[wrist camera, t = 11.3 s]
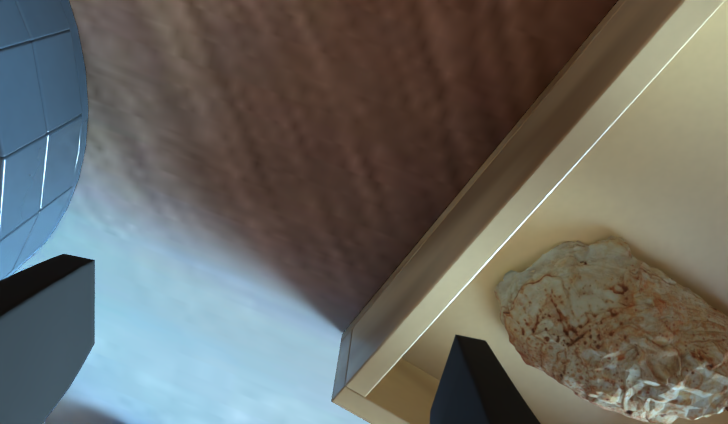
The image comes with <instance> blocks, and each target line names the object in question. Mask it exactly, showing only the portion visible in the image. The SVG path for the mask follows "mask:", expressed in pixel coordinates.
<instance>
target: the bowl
mask: <svg viewBox="0 0 728 424" xmlns="http://www.w3.org/2000/svg"><path fill="white" fill-rule="evenodd" d="M87 123H88V96H87V81H86V69H85V64H84V59H83V53H82V48H81V43H80V38H79V33H78V28H77V24H76V21H75V18H74V15H73V12H72V9H71V6H70V2H69V0H0V280H2V279H5V278H7V277H9V276H11V275H13V274H14V273H15V272H16V271H17V270H18V269H19V268H20V267H21V266H22V265H23V264H24V263H25V262H26V261H27V260H28V259H30V258H31V257H32V256H33V255H34V254H35V253H36V252H37V251H38V249H40V248H41V247H42V246H43V245H44V244H45V242H46V241H47V239H48V238H49V237H50V236H51V234H52V233H53V231H54V230H55V228H56V226H57V225H58V223H59V221H60V220H61V218H62V217H63V215H64V213H65V212H66V210H67V208H68V205H69V203H70V200H71V198H72V195H73V193H74V190H75V188H76V185H77V183H78V180H79V176H80V171H81V167H82V162H83V158H84V153H85V148H86V138H87Z"/></svg>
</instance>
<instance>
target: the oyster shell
mask: <svg viewBox="0 0 728 424" xmlns="http://www.w3.org/2000/svg"><path fill="white" fill-rule="evenodd" d="M533 270H535V271H534V272H531V271H533ZM503 280H504V281H501V282H499V284H498V285H497V286H496V288H495V291H494V292H495V295H496V298H497V300H498V301H499V304H500V320H501V322H502V324H503V325H504V326H505V329H506V330H507V332H508V335H509V342H510V343H511V344H512V345H513V346H514V347H515V349H516V351H517V352H518V353H519V354H520V356H521V358H522V360H523V361H524V362H525V364H526V365H529V366H532V367H534V368H537V369H539V370H541V371H543V372H545V373H546V374H547V375H548V376H550V377H552V378H554V379H555V380H556V381H557V382H558V383H560V384H562V385H564V386H566V387H568V388H569V389H571V390H572V391H573V392H574V394H575V395H577V396H578V397H580V398H581V399H584V400H588V401H589V402H590V403H592V404H595V405H597V406H599V407H600V408H602V409H605V410H609V411H614V412H618V413H620V414H623V415H625V416H626V417H630V418H633V419H637V420H640V421H643V422H650V423H657V422H663V423H665V424H671V423H672V422H674V421H675V420H676V419H678V418H680V417H681V418H684V419H688V420H696V419H698V418H700V417H702V416H705V417H708V416H710V415H712V414H714V413H718V414H719V413H721V412H725V411H728V317H727V316H726V315H725V314H724V313H722V312H721V311H719V310H718V309H715V308H713V307H711V306H710V305H709V304H708V303H707V302H706V301H704V300H703V299H702V298H701V297H700V296H699V295H697V294H695V293H693V292H692V291H691V290H690V289H689V288H684V287H683V286H681V285H679V284H677V283H676V282H675V281H674V280H673V279H672V278H671V277H670V276H667V275H665V273H664V272H663V271H662V270H660V269H657V268H654V267H649V266H648V265H647V264H646V263H645V262H643V261H641V260H638V259H637V258H636V257H634V256H633V255H632V254H631V252H630V248H629V246H628V244H627V243H626V242H625V240H624V239H623V238H621V237H615V236H610V237H608V239H607V240H601V241H597V242H595V243H593V244H592V245H585V244H583V243H582V242H581V241H576V242H572V241H567V242H563V243H562V244H560V245H557V246H556V247H554V248H553V249H552V250H550V251H549V252H547V253H546V254H542V256H541V257H540V258H539V259H538V260H537V261H536V262H535V263H533V264H532V266H531V267H528V268H527V269H526V270H525V271H523V272H520V273H518V272H516V271H513V270H510V271H509V272H507V273H506V274H505V276H504V277H503Z"/></svg>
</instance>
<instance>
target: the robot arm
mask: <svg viewBox="0 0 728 424" xmlns="http://www.w3.org/2000/svg"><path fill="white" fill-rule="evenodd" d="M94 301H95V260H91V259H86V258H81V257H76V256H72V255H67V254H62V255H59V256H56V257H54V258H51V259H49V260H46V261H44V262H41V263H39V264H37V265H34V266H32V267H30V268H27V269H25V270H23V271H20V272H18V273H16V274H14V275H11V276H9V277H7V278H5V279H2V280H0V424H43V422H44V421H45V420H46V418H47V417H48V416H49V414H50V413H51V412H52V410H53V409H54V408H55V406H56V405H57V404H58V402H59V401H60V400H61V398H62V397H63V396H64V394H65V393H66V391H67V390H68V389H69V387H70V386H71V384H72V382H73V381H74V379H75V377H76V376H77V374H78V372H79V370H80V369H81V367H82V365H83V363H84V362H85V360H86V358H87V356H88V354H89V352H90V351H91V349H92V347H93V345H94ZM430 424H541V423H540V422H539V421H538V419H537V418H536V416H535V415H534V414H533V412H532V411H531V409H530V408H529V406H528V405H527V403H526V402H525V400H524V399H523V397H522V396H521V395H520V393H519V392H518V390H517V388H516V387H515V385H514V384H513V382H512V381H511V379H510V378H509V376H508V375H507V373H506V371H505V370H504V368H503V367H502V365H501V364H500V362H499V360H498V359H497V357H496V356H495V354H494V353H493V351H492V349H491V348H490V346H489V345H488V343H487V342H486V340H481V339H476V338H471V337H466V336H461V335H456V334H455V337H454V341H453V344H452V347H451V350H450V353H449V356H448V359H447V362H446V365H445V368H444V371H443V374H442V377H441V380H440V383H439V386H438V389H437V392H436V395H435V398H434V401H433V404H432V407H431V410H430Z"/></svg>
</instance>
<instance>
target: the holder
mask: <svg viewBox="0 0 728 424" xmlns="http://www.w3.org/2000/svg"><path fill="white" fill-rule="evenodd" d="M610 236H615V237H621V238H623V239H624V240H625V242H626V243H627V244H628V246H629V248H630V252H631V254H632V255H633V256H634V257H636V258H637V259H638V260H641V261H643V262H645V263H646V264H647V265H648V266H649V267H654V268H657V269H660V270H662V271H663V272H664V273H665V275H667V276H670V277H671V278H672V279H673V280H674V281H675V282H676V283H677V284H679V285H681V286H683V287H684V288H689V289H690V290H691V291H692V292H693V293H695V294H697V295H699V296H700V297H701V298H702V299H703V300H704V301H706V302H707V303H708V304H709V305H710V306H711V307H713V308H715V309H718V310H719V311H721V312H722V313H724V314H725V315H726V316H727V317H728V0H619V1H618V2H617V3H616V4H615V5H614V7H613V8H612V9H611V10H610V11H609V13H608V14H607V15H606V16H605V18H604V19H603V20H602V21H601V22H600V24H599V25H598V26H597V27H596V28H595V30H594V31H593V32H592V33H591V34H590V36H589V37H588V38H587V39H586V40H585V42H584V43H583V44H582V45H581V47H580V48H579V49H578V50H577V51H576V53H575V54H574V55H573V56H572V57H571V59H570V60H569V61H568V62H567V63H566V65H565V66H564V67H563V68H562V69H561V71H560V72H559V73H558V74H557V75H556V77H555V78H554V79H553V80H552V82H551V83H550V84H549V85H548V86H547V88H546V89H545V90H544V91H543V92H542V94H541V95H540V96H539V97H538V98H537V100H536V101H535V102H534V103H533V104H532V106H531V107H530V108H529V109H528V111H527V112H526V113H525V114H524V115H523V117H522V118H521V119H520V120H519V121H518V123H517V124H516V125H515V126H514V127H513V129H512V130H511V131H510V132H509V133H508V135H507V136H506V137H505V138H504V139H503V141H502V142H501V143H500V144H499V146H498V147H497V148H496V149H495V150H494V152H493V153H492V154H491V155H490V156H489V158H488V159H487V160H486V161H485V162H484V164H483V165H482V166H481V167H480V168H479V170H478V171H477V172H476V173H475V175H474V176H473V177H472V178H471V179H470V181H469V182H468V183H467V184H466V185H465V187H464V188H463V189H462V190H461V191H460V193H459V194H458V195H457V196H456V197H455V199H454V200H453V201H452V202H451V203H450V205H449V206H448V207H447V208H446V210H445V211H444V212H443V213H442V214H441V216H440V217H439V218H438V219H437V220H436V222H435V223H434V224H433V225H432V226H431V228H430V229H429V230H428V231H427V232H426V234H425V235H424V236H423V237H422V239H421V240H420V241H419V242H418V243H417V245H416V246H415V247H414V248H413V249H412V251H411V252H410V253H409V254H408V255H407V257H406V258H405V259H404V260H403V261H402V263H401V264H400V265H399V266H398V267H397V269H396V270H395V271H394V272H393V274H392V275H391V276H390V277H389V278H388V280H387V281H386V282H385V283H384V284H383V286H382V287H381V288H380V289H379V290H378V292H377V293H376V294H375V295H374V296H373V298H372V299H371V300H370V301H369V303H368V304H367V305H366V306H365V307H364V309H363V310H362V311H361V312H360V313H359V315H358V316H357V317H356V318H355V319H354V321H353V322H352V323H351V324H350V325H349V327H348V328H347V329H346V330H345V331H344V333H343V334H342V338H341V344H340V350H339V357H338V363H337V369H336V375H335V381H334V387H333V394H332V400H331V401H332V402H333V403H335V404H337V405H338V406H340V407H342V408H344V409H345V410H347V411H349V412H351V413H353V414H354V415H356V416H358V417H360V418H362V419H363V420H365V421H367V422H369V423H371V424H430V410H431V407H432V404H433V401H434V398H435V395H436V392H437V389H438V386H439V383H440V380H441V377H442V374H443V371H444V368H445V365H446V362H447V359H448V356H449V353H450V350H451V347H452V344H453V341H454V337H455V334H456V335H461V336H466V337H471V338H476V339H481V340H486V342H487V343H488V345H489V346H490V348H491V349H492V351H493V353H494V354H495V356H496V357H497V359H498V360H499V362H500V364H501V365H502V367H503V368H504V370H505V371H506V373H507V375H508V376H509V378H510V379H511V381H512V382H513V384H514V385H515V387H516V388H517V390H518V392H519V393H520V395H521V396H522V397H523V399H524V400H525V402H526V403H527V405H528V406H529V408H530V409H531V411H532V412H533V414H534V415H535V416H536V418H537V419H538V421H539V422H540V423H541V424H665V423H663V422H657V423H650V422H643V421H640V420H637V419H633V418H630V417H626V416H625V415H623V414H620V413H618V412H614V411H609V410H605V409H602V408H600V407H599V406H597V405H595V404H592V403H590V402H589V401H588V400H584V399H581V398H580V397H578V396H577V395H575V394H574V392H573V391H572V390H571V389H569V388H568V387H566V386H564V385H562V384H560V383H558V382H557V381H556V380H555V379H554V378H552V377H550V376H548V375H547V374H546V373H545V372H543V371H541V370H539V369H537V368H534V367H532V366H529V365H526V364H525V362H524V361H523V360H522V358H521V356H520V354H519V353H518V352H517V351H516V349H515V347H514V346H513V345H512V344H511V343H510V342H509V335H508V332H507V330H506V329H505V326H504V325H503V324H502V322H501V320H500V304H499V301H498V300H497V298H496V295H495V292H494V291H495V288H496V286H497V285H498V284H499V282H501V281H504V280H503V277H504V276H505V274H506V273H507V272H509V271H510V270H513V271H516V272H518V273H520V272H523V271H525V270H526V269H527V268H528V267H531V266H532V264H533V263H535V262H536V261H537V260H538V259H539V258H540V257H541V256H542V254H546V253H547V252H549V251H550V250H552V249H553V248H554V247H556V246H557V245H560V244H562V243H563V242H567V241H572V242H576V241H581V242H582V243H583V244H585V245H592V244H593V243H595V242H597V241H601V240H607V239H608V237H610ZM534 271H535V270H533V271H531V272H534ZM671 424H728V411H725V412H721V413H719V414H718V413H714V414H712V415H710V416H708V417H705V416H702V417H700V418H698V419H696V420H688V419H684V418H681V417H680V418H678V419H676V420H675V421H674V422H672V423H671Z"/></svg>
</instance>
